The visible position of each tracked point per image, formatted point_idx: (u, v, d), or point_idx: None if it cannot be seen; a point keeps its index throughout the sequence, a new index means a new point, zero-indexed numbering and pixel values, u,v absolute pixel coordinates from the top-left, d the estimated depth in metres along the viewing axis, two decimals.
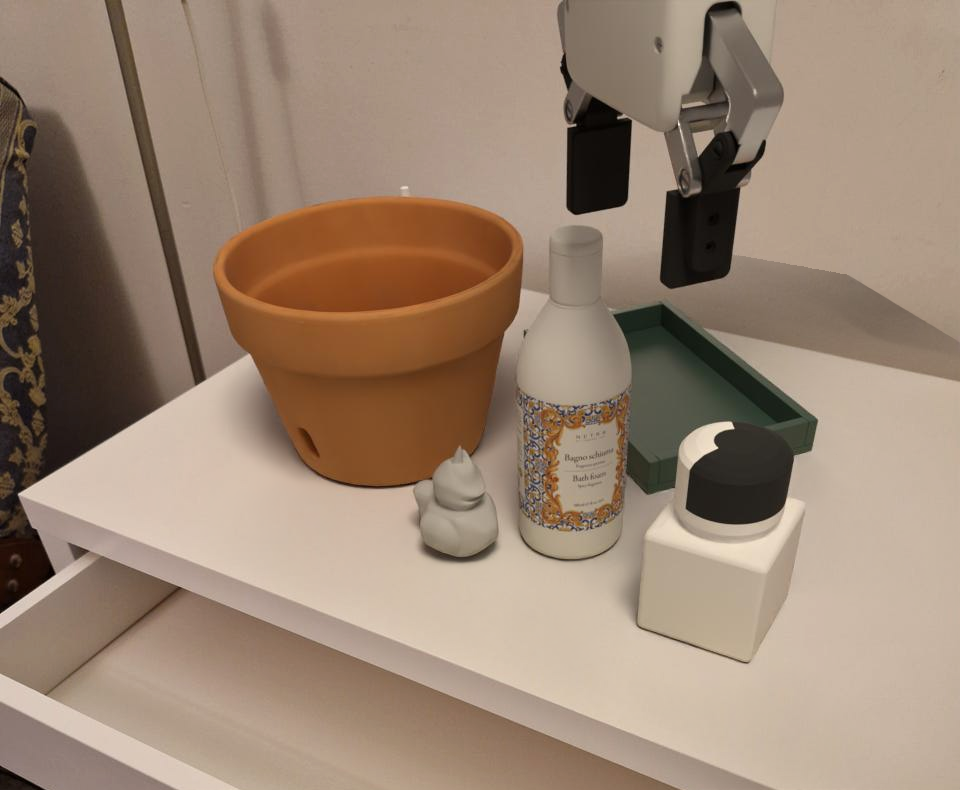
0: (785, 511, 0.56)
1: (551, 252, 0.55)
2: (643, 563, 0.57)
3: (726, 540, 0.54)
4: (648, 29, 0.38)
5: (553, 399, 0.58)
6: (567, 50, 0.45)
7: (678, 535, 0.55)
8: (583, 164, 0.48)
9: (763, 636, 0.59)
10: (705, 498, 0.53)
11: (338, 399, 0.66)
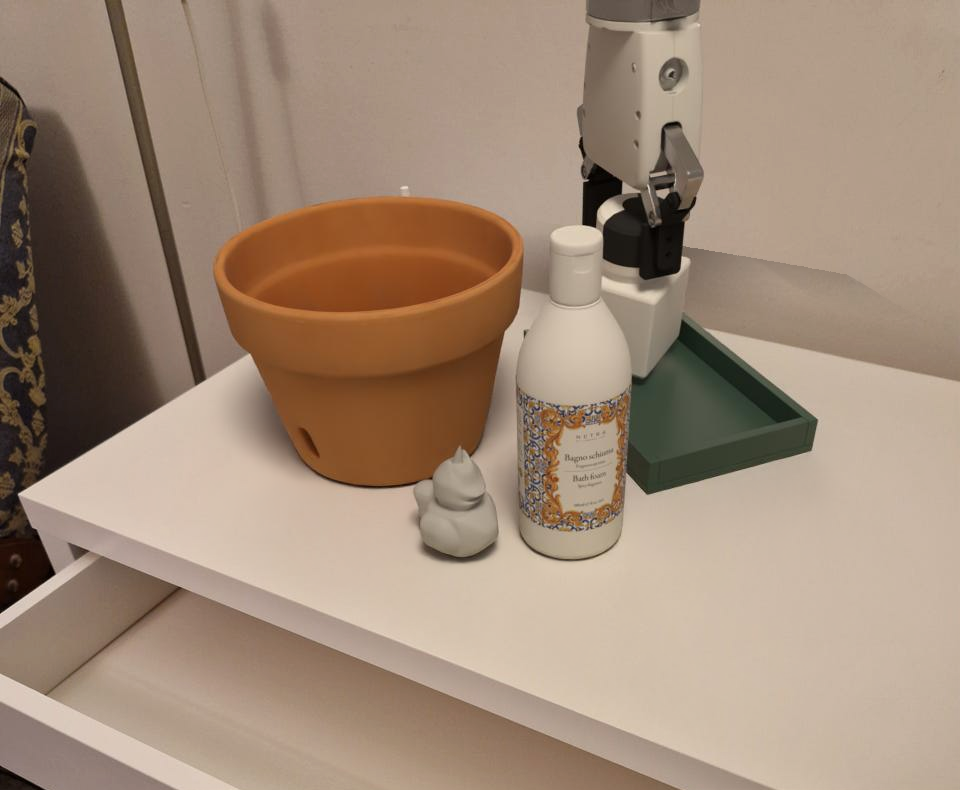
0: None
1: (551, 252, 0.54)
2: None
3: (628, 281, 0.76)
4: (630, 135, 0.68)
5: (553, 398, 0.58)
6: (583, 138, 0.75)
7: None
8: (593, 204, 0.79)
9: (656, 361, 0.81)
10: (614, 246, 0.74)
11: (338, 398, 0.66)
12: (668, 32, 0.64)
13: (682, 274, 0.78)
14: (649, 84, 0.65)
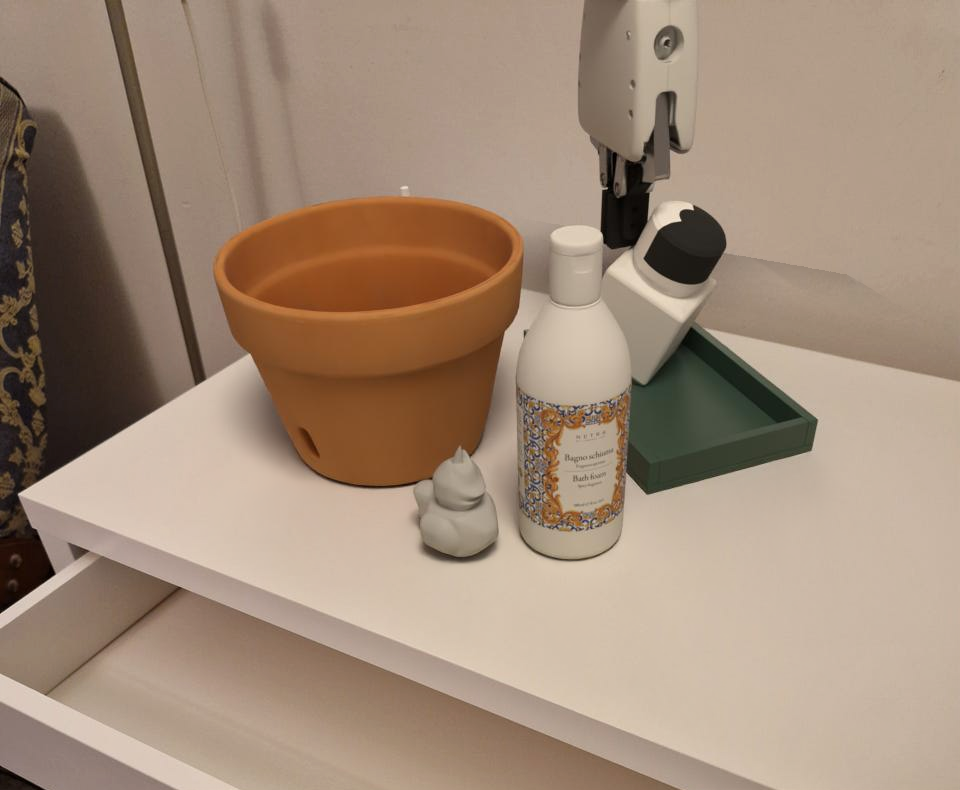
0: (703, 284, 0.78)
1: (551, 252, 0.54)
2: None
3: (662, 291, 0.75)
4: (625, 105, 0.67)
5: (553, 398, 0.58)
6: (579, 110, 0.74)
7: (631, 277, 0.75)
8: None
9: None
10: (662, 255, 0.73)
11: (338, 398, 0.66)
12: None
13: (707, 296, 0.78)
14: (644, 52, 0.65)
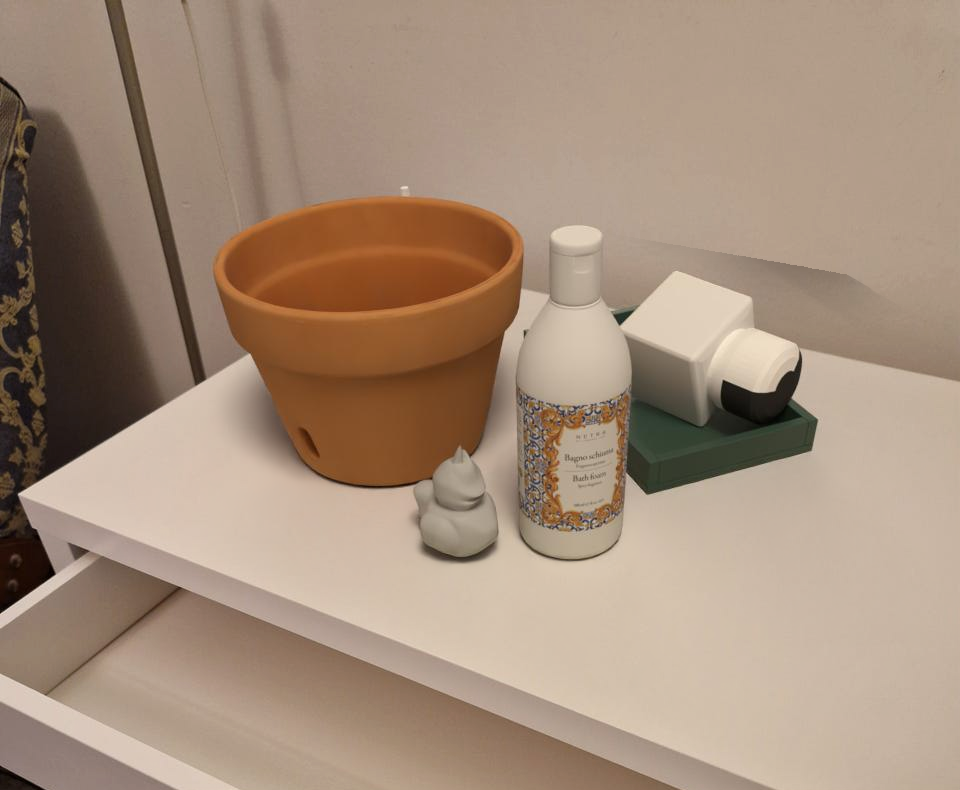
0: None
1: (551, 252, 0.54)
2: (669, 352, 0.71)
3: (710, 397, 0.73)
4: None
5: (553, 398, 0.58)
6: None
7: (701, 375, 0.71)
8: None
9: None
10: (735, 401, 0.71)
11: (338, 398, 0.66)
12: None
13: None
14: None
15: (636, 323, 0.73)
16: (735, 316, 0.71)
